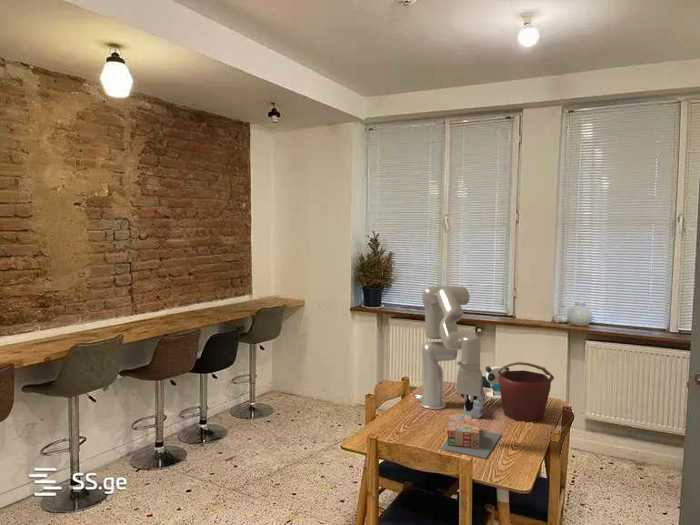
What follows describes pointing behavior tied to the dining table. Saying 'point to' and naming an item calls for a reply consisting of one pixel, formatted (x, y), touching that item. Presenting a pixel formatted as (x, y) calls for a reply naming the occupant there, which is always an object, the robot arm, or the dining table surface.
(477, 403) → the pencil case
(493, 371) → the panda figurine
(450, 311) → the robot arm
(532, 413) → the bucket
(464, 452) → the rubber mat
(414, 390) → the dining table surface
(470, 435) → the stack of blocks
